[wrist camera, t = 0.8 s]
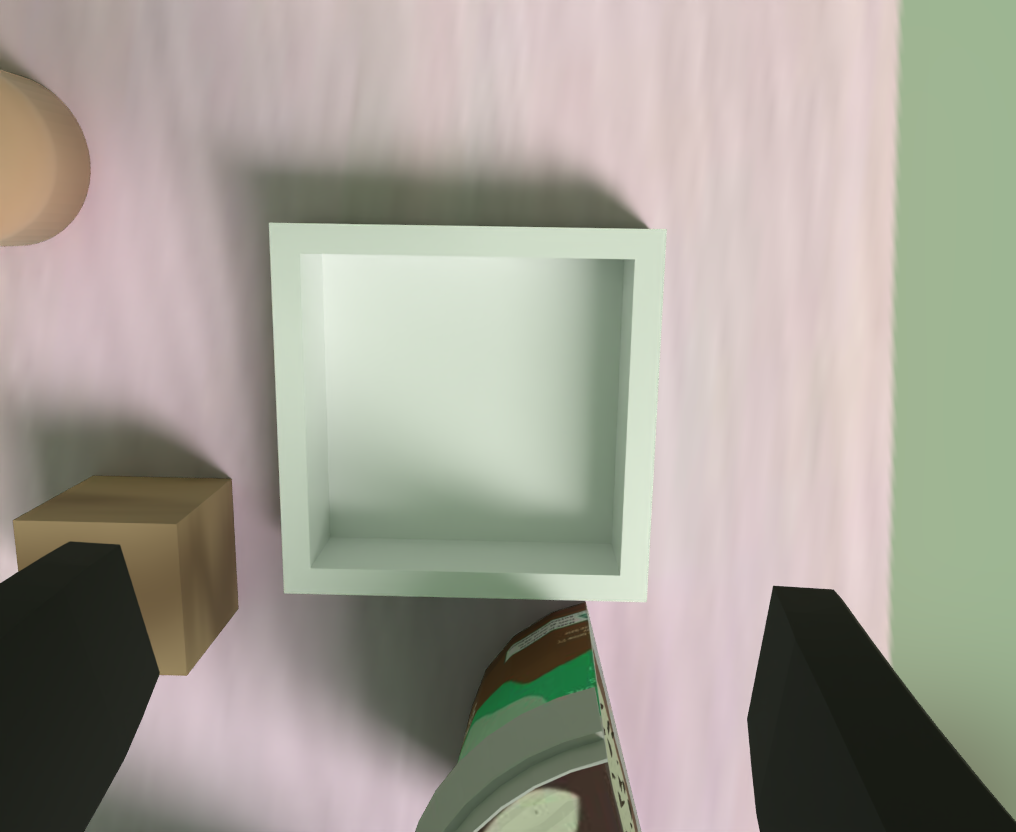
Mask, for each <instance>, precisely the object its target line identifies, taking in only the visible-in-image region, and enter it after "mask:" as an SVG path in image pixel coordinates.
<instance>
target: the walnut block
mask: <svg viewBox="0 0 1016 832" xmlns="http://www.w3.org/2000/svg"><path fill="white" fill-rule="evenodd" d="M13 527H14V536H15V545H16V554H17V563H18V572H19V571H20V570H22V569H24V568H25V567H27V566H28V565H30V564H32V563H33V562H35V561H37V560H38V559H40V558H41V557H43V556H45V555H46V554H48V553H50V552H52V551H53V550H55V549H57V548H59V547H60V546H62V545H64V544H66V543H67V542H69V541H72V542H88V543H104V544H120V546H121V549H122V552H123V556H124V559H125V562H126V565H127V568H128V572H129V575H130V578H131V581H132V585H133V588H134V591H135V594H136V597H137V601H138V604H139V607H140V610H141V613H142V617H143V620H144V623H145V626H146V630H147V633H148V636H149V639H150V642H151V646H152V649H153V652H154V655H155V658H156V662H157V665H158V668H159V671H160V674H159V675H182V676H187V675H188V674H189V672H190V671H191V670H192V668H193V667H194V666H195V664H196V663H197V662H198V661H199V659H200V658H201V657H202V655H203V654H204V653H205V651H206V650H207V649H208V648H209V646H210V645H211V644H212V642H213V641H214V640H215V638H216V637H217V636H218V635H219V633H220V632H221V631H222V629H223V628H224V627H225V626H226V624H227V623H228V622H229V620H230V619H231V618H232V616H233V615H234V614H235V613H236V611H237V610H238V590H237V571H236V552H235V534H234V515H233V496H232V479H224V478H178V477H132V476H92V477H90V478H88V479H86V480H84V481H83V482H81V483H79V484H77V485H75V486H74V487H72V488H70V489H68V490H66V491H65V492H63V493H61V494H59V495H58V496H56V497H54V498H52V499H50V500H49V501H47V502H45V503H43V504H41V505H40V506H38V507H36V508H34V509H32V510H31V511H29V512H27V513H25V514H23V515H22V516H20V517H18V518H16V519H14V520H13Z"/></svg>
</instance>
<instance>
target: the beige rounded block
mask: <svg viewBox="0 0 1016 832" xmlns="http://www.w3.org/2000/svg"><path fill="white" fill-rule="evenodd" d="M90 174H91V171H90V157H89V150H88V147H87V143H86V139H85V137H84V134H83V132H82V129H81V127H80V126H79V124H78V122H77V120H76V118H75V117H74V115H73V114H72V113H71V111H70V110H69V108H68V107H67V106H66V105H65V104H64V103H63V102H62V101H61V100H60V99H59V98H58V97H57V96H56V95H55V94H54V93H52V92H51V91H50V90H48V89H47V88H45V87H44V86H42V85H41V84H39V83H37V82H35V81H33V80H31V79H28V78H25V77H23V76H20V75H17V74H13V73H10V72H7V71H4V70H1V69H0V246H27V245H32V244H37V243H40V242H43V241H46V240H48V239H50V238H52V237H54V236H56V235H57V234H59V233H60V232H61V231H63V230H64V229H65V228H66V227H67V226H68V225H69V224H70V223H71V222H72V221H73V220H74V218H75V217H76V216H77V215H78V213H79V211H80V209H81V208H82V206H83V204H84V201H85V198H86V196H87V192H88V188H89V183H90Z"/></svg>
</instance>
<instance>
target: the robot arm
mask: <svg viewBox="0 0 1016 832" xmlns="http://www.w3.org/2000/svg"><path fill="white" fill-rule="evenodd" d="M159 674H160V671H159V668H158V665H157V662H156V658H155V655H154V652H153V649H152V646H151V642H150V639H149V636H148V633H147V630H146V626H145V623H144V620H143V617H142V613H141V610H140V607H139V604H138V601H137V597H136V594H135V591H134V588H133V585H132V581H131V578H130V575H129V572H128V568H127V565H126V562H125V559H124V556H123V552H122V549H121V546H120V544H104V543H88V542H72V541H69V542H67V543H66V544H64V545H62V546H60V547H59V548H57V549H55V550H53V551H52V552H50V553H48V554H46V555H45V556H43V557H41V558H40V559H38V560H37V561H35V562H33V563H32V564H30V565H28V566H27V567H25V568H24V569H22V570H20V571H19V572H17V573H16V574H14V575H13V576H11V577H9V578H8V579H6V580H5V581H3V582H2V583H0V832H84V831H85V829H86V827H87V825H88V823H89V822H90V820H91V818H92V816H93V815H94V813H95V811H96V809H97V807H98V806H99V804H100V802H101V800H102V799H103V797H104V795H105V793H106V791H107V790H108V788H109V786H110V784H111V783H112V781H113V779H114V777H115V775H116V773H117V772H118V770H119V768H120V766H121V764H122V762H123V761H124V759H125V757H126V754H127V752H128V750H129V748H130V745H131V743H132V741H133V738H134V736H135V734H136V731H137V729H138V727H139V725H140V722H141V720H142V717H143V715H144V712H145V710H146V707H147V705H148V702H149V700H150V697H151V695H152V692H153V689H154V687H155V684H156V682H157V679H158V677H159ZM747 722H748V733H749V744H750V756H751V767H752V777H753V786H754V796H755V805H756V814H757V819H758V824H759V829H760V832H1016V821H1015V820H1014V819H1013V818H1012V817H1011V815H1010V814H1009V813H1008V812H1007V811H1006V810H1005V808H1004V807H1003V806H1002V805H1001V804H1000V803H999V801H998V800H997V799H996V798H995V797H994V795H993V794H992V793H991V792H990V791H989V790H988V788H987V787H986V786H985V785H984V784H983V782H982V781H981V780H980V779H979V777H978V776H977V775H976V774H975V773H974V771H973V770H972V769H971V768H970V766H969V765H968V764H967V763H966V761H965V760H964V759H963V758H962V757H961V755H960V754H959V753H958V752H957V750H956V749H955V748H954V747H953V745H952V744H951V743H950V742H949V741H948V739H947V738H946V737H945V736H944V734H943V733H942V732H941V731H940V730H939V729H938V727H937V726H936V724H935V723H934V722H933V721H932V719H931V718H930V717H929V715H928V714H927V713H926V712H925V710H924V709H923V708H922V707H921V705H920V704H919V703H918V702H917V700H916V699H915V697H914V696H913V695H912V694H911V692H910V691H909V690H908V688H907V687H906V686H905V684H904V683H903V682H902V680H901V679H900V678H899V676H898V675H897V674H896V673H895V671H894V670H893V668H892V667H891V666H890V664H889V663H888V662H887V660H886V659H885V658H884V656H883V655H882V654H881V652H880V651H879V649H878V648H877V647H876V645H875V644H874V643H873V641H872V640H871V639H870V637H869V636H868V634H867V633H866V632H865V630H864V629H863V627H862V626H861V625H860V623H859V622H858V621H857V619H856V618H855V616H854V615H853V614H852V612H851V611H850V609H849V608H848V607H847V605H846V604H845V603H844V601H843V600H842V599H841V597H840V596H839V595H838V594H837V593H836V592H835V591H834V590H831V589H815V588H800V587H784V586H773V590H772V595H771V600H770V605H769V610H768V615H767V620H766V625H765V631H764V636H763V641H762V646H761V651H760V656H759V661H758V666H757V671H756V677H755V682H754V687H753V692H752V697H751V702H750V707H749V712H748V717H747Z"/></svg>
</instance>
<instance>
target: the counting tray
mask: <svg viewBox="0 0 1016 832" xmlns="http://www.w3.org/2000/svg"><path fill="white" fill-rule="evenodd" d="M666 231H667V229H620V228H560V227H499V226H439V225H378V224H318V223H269V240H270V264H271V289H272V313H273V337H274V362H275V386H276V410H277V435H278V459H279V484H280V508H281V532H282V557H283V581H284V593H289V594H330V595H372V596H413V597H454V598H496V599H537V600H578V601H620V602H647V585H648V566H649V547H650V529H651V510H652V492H653V473H654V455H655V436H656V417H657V399H658V380H659V362H660V343H661V324H662V306H663V287H664V269H665V250H666Z"/></svg>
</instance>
